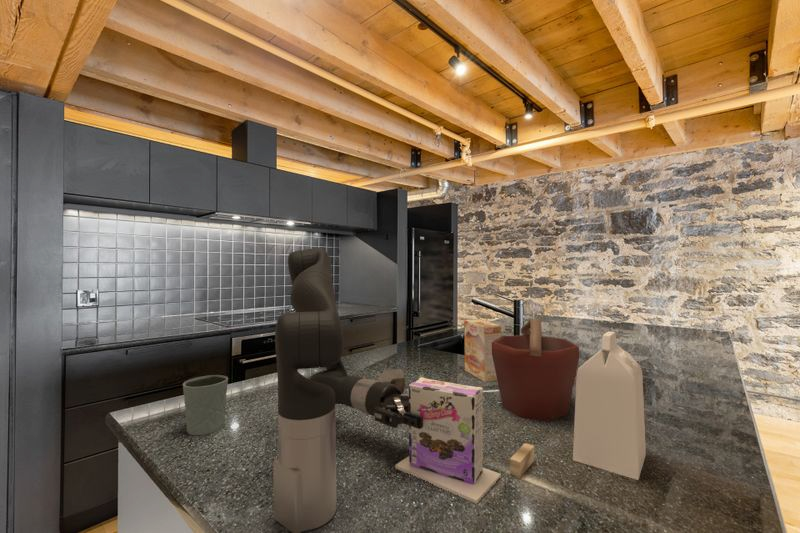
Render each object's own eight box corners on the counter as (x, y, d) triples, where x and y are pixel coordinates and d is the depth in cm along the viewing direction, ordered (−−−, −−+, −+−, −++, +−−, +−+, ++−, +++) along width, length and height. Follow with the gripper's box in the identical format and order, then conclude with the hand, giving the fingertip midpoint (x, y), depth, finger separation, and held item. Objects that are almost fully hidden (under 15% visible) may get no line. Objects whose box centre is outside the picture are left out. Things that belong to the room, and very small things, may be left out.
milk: (586, 438, 86) (585, 327, 86) (645, 454, 78) (645, 332, 78) (572, 460, 76) (571, 335, 76) (638, 480, 69) (637, 342, 69)
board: (476, 504, 63) (476, 500, 63) (395, 468, 74) (395, 465, 74) (500, 477, 71) (500, 474, 71) (423, 448, 82) (423, 445, 82)
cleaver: (406, 398, 113) (406, 391, 113) (375, 399, 113) (375, 392, 113) (403, 371, 143) (403, 366, 143) (377, 372, 142) (377, 366, 142)
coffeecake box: (464, 370, 141) (463, 319, 141) (480, 368, 143) (480, 318, 143) (484, 382, 127) (483, 325, 127) (502, 380, 129) (501, 324, 129)
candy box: (407, 465, 74) (407, 383, 74) (421, 452, 79) (420, 375, 79) (474, 486, 67) (473, 395, 67) (484, 470, 72) (483, 386, 72)
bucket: (508, 388, 120) (507, 312, 120) (583, 401, 109) (583, 316, 109) (484, 415, 99) (483, 323, 99) (574, 434, 88) (574, 329, 88)
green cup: (178, 439, 88) (177, 388, 87) (190, 421, 97) (189, 376, 97) (224, 433, 90) (223, 384, 90) (231, 416, 100) (231, 372, 100)
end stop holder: (520, 477, 70) (519, 462, 70) (432, 446, 83) (432, 432, 83) (534, 460, 76) (534, 445, 76) (451, 433, 89) (451, 420, 89)
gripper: (352, 390, 79) (413, 408, 68) (395, 374, 90) (452, 387, 79) (352, 425, 79) (413, 448, 68) (395, 405, 90) (453, 422, 79)
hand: (434, 415), depth 74 cm, fingers open, 8 cm apart
